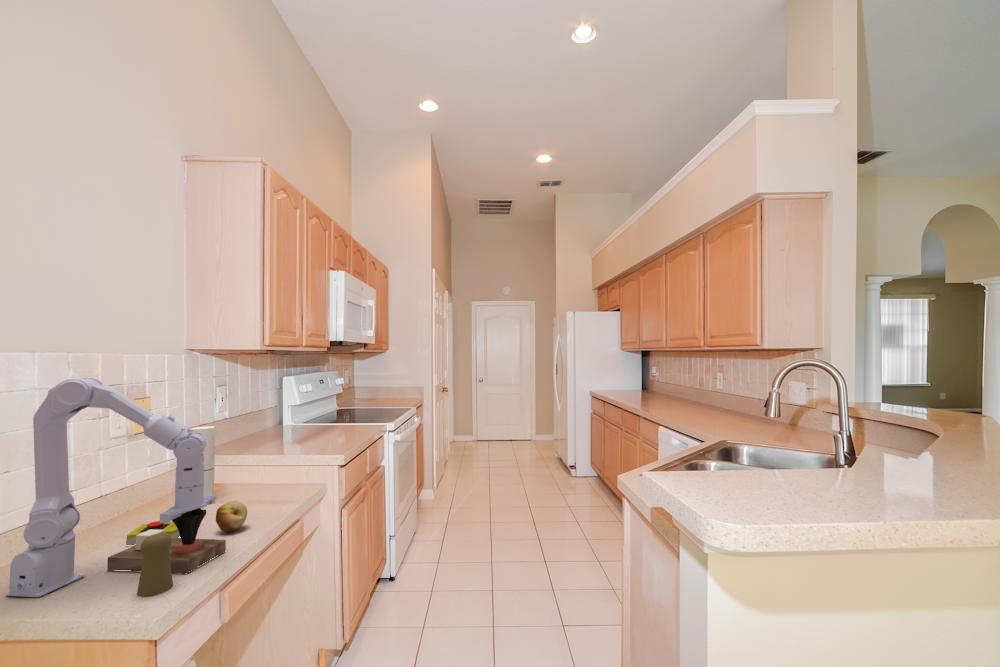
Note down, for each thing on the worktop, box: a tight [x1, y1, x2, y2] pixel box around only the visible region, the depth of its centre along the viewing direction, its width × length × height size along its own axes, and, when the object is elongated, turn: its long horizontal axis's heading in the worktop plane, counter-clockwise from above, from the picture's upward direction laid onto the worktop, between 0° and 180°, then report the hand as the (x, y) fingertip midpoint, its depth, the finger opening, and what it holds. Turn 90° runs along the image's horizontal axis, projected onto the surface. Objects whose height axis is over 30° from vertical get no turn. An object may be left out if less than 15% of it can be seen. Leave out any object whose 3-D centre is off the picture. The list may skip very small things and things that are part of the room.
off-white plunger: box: [135, 529, 165, 550], centre depth 111 cm, size 4×4×3 cm
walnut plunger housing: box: [106, 538, 227, 574], centre depth 110 cm, size 12×20×3 cm, turn 83°
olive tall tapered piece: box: [136, 533, 174, 598], centre depth 96 cm, size 6×6×11 cm
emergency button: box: [125, 520, 180, 545], centre depth 126 cm, size 9×4×15 cm
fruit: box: [215, 500, 248, 533], centre depth 130 cm, size 8×8×8 cm
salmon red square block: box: [174, 540, 203, 553], centre depth 109 cm, size 4×4×3 cm
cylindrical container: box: [190, 425, 216, 497], centre depth 160 cm, size 7×7×25 cm
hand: (188, 543), depth 109 cm, fingers closed, pressing on salmon red square block
